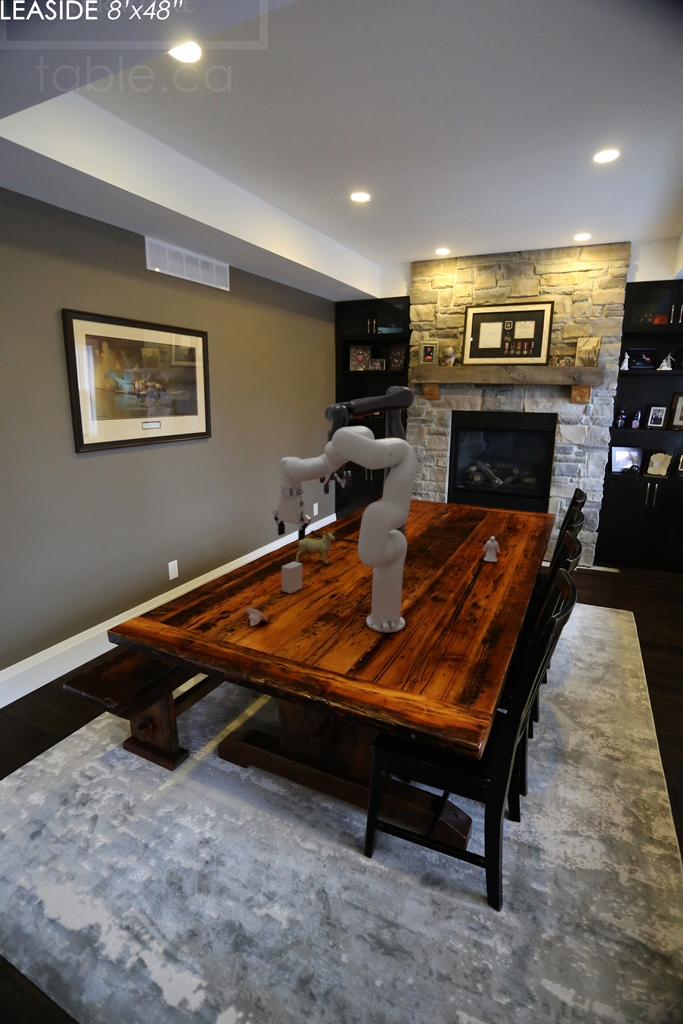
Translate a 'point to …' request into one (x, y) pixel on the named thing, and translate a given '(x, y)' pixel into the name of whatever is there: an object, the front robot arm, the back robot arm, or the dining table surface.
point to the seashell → (255, 616)
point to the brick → (291, 577)
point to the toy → (316, 546)
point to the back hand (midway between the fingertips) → (335, 495)
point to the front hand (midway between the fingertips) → (291, 537)
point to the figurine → (491, 550)
